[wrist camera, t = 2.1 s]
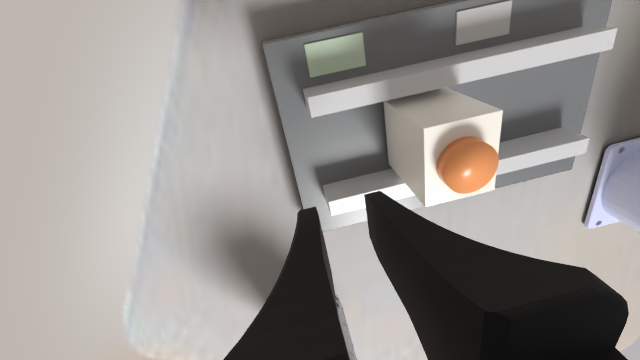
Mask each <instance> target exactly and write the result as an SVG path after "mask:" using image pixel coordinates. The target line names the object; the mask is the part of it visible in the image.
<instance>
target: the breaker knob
mask: <svg viewBox="0 0 640 360" xmlns="http://www.w3.org/2000/svg"><path fill="white" fill-rule="evenodd" d="M384 113H385V125H386V137H387V149H388V162H389V165H390V166H391V167H392V168H393V169H394V171H395V172H396V173H397V174H398V175H399V177H400V178H401V179H402V180H403V181H404V182H405V184H406V185H407V186H408V187H409V188H410V190H411V191H412V192H413V193H414V194H415V195H416V197H417V198H418V199H419V200H420V201H421V203H422V204H423V205H424V206H425V207H428V206H432V205H436V204H440V203H444V202H448V201H452V200H456V199H460V198H464V197H468V196H472V195H476V194H480V193H484V192H488V191H492V190H494V189H495V180H496V171H497V168H498V163H499V158H498V152H499V142H500V133H501V123H502V114H503V110H501V109H499V108H496V107H494V106H491V105H489V104H486V103H484V102H481V101H479V100H476V99H474V98H471V97H469V96H466V95H464V94H461V93H459V92H456V91H454V90H451V89H449V88H446V87H444V88H440V89H436V90H431V91H427V92H423V93H418V94H414V95H409V96H405V97H401V98H396V99H392V100H388V101H384Z"/></svg>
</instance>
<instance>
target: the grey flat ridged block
mask: <svg viewBox="0 0 640 360" xmlns="http://www.w3.org/2000/svg"><path fill="white" fill-rule="evenodd" d="M611 3H612V0H455V1H450V2H446V3H441V4H436V5H431V6H427V7H422V8H417V9H413V10H408V11H403V12H399V13H394V14H389V15H384V16H380V17H375V18H370V19H366V20H361V21H356V22H352V23H347V24H342V25H338V26H333V27H328V28H323V29H319V30H314V31H309V32H305V33H300V34H295V35H291V36H286V37H281V38H276V39H272V40H267V41H262V45H263V49H264V53H265V57H266V61H267V65H268V69H269V73H270V77H271V81H272V85H273V89H274V93H275V97H276V101H277V105H278V109H279V113H280V117H281V121H282V125H283V129H284V133H285V137H286V141H287V145H288V149H289V153H290V157H291V161H292V165H293V169H294V173H295V177H296V181H297V185H298V189H299V193H300V197H301V201H302V205H303V209H307V208H311V207H315V206H316V208H317V212H318V215H319V219H320V223H321V228H322V232H323V231H327V230H331V229H335V228H339V227H343V226H347V225H351V224H355V223H359V222H363V221H367V212H366V205H365V197H364V194H368V193H372V192H377V191H381V192H383V193H384V194H386V195H387V196H389V197H390V198H392V199H394V200H395V201H397V202H398V203H400V204H401V205H403V206H404V207H406V208H408V209H409V210H411V209H415V208H419V207H423V206H424V205H423V204H422V203H421V201H420V200H419V199H418V198H417V197H416V195H415V194H414V193H413V192H412V191H411V190H410V188H409V187H408V186H407V185H406V184H405V182H404V181H403V180H402V179H401V178H400V177H399V175H398V174H397V173H396V172H395V171H394V169H393V168H392V167H391V166H390V165H389V162H388V149H387V137H386V125H385V113H384V101H388V100H392V99H396V98H401V97H405V96H409V95H414V94H418V93H423V92H427V91H431V90H436V89H440V88H444V87H446V88H449V89H451V90H454V91H456V92H459V93H461V94H464V95H466V96H469V97H471V98H474V99H476V100H479V101H481V102H484V103H486V104H489V105H491V106H494V107H496V108H499V109H501V110H503V114H502V123H501V133H500V142H499V152H498V158H499V163H498V168H497V171H496V180H495V188H499V187H503V186H507V185H511V184H515V183H519V182H523V181H527V180H531V179H535V178H539V177H543V176H547V175H551V174H555V173H559V172H563V171H567V170H571V169H572V167H573V162H574V158H575V156H577V155H581V154H585V153H586V150H587V146H588V142H589V139H590V138H588V137H585V136H583V135H580V133H581V129H582V125H583V120H584V116H585V112H586V108H587V104H588V99H589V95H590V91H591V87H592V83H593V78H594V74H595V70H596V66H597V62H598V57H599V53H600V52H602V51H606V50H611V49H612V48H613V45H614V41H615V37H616V33H617V29H618V28H606V24H607V20H608V15H609V11H610V7H611Z"/></svg>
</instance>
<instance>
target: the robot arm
mask: <svg viewBox="0 0 640 360" xmlns="http://www.w3.org/2000/svg"><path fill="white" fill-rule="evenodd" d="M364 197H365V205H366V212H367V220H368V227H369V235H370V239H371V241H372V244H373V247H374V249H375V252H376V254H377V257H378V259H379V261H380V263H381V265H382V266H383V268H384V270H385V272H386V274H387V276H388V278H389V279H390V281H391V283H392V285H393V287H394V288H395V290H396V292H397V294H398V296H399V297H400V299H401V301H402V303H403V305H404V306H405V308H406V310H407V312H408V314H409V316H410V318H411V321H412V323H413V325H414V328H415V330H416V332H417V335H418V337H419V339H420V342H421V344H422V346H423V349H424V351H425V353H426V356H427V358H428V360H628V359H626V358H625V357H624V356H623V355H622V354H621V353H620V352H619V351H618V350H617V349H616V348H615V346H616V344H617V342H618V340H619V337H620V335H621V333H622V331H623V329H624V326H625V324H626V321H627V318H628V305H627V302H626V300H625V299H624V298H623V297H622V296H621V295H620V294H619V293H617V292H616V291H615V290H613V289H612V288H611V287H610V286H608V285H607V284H606V283H604V282H603V281H602V280H601V279H599V278H598V277H597V276H595V275H594V274H593V273H592V272H590V271H589V270H587V269H586V268H581V267H576V266H571V265H565V264H560V263H555V262H549V261H544V260H540V259H535V258H531V257H527V256H523V255H519V254H515V253H512V252H508V251H505V250H501V249H498V248H495V247H492V246H489V245H486V244H483V243H479V242H477V241H474V240H471V239H469V238H466V237H464V236H461V235H459V234H456V233H454V232H452V231H449V230H447V229H445V228H443V227H441V226H439V225H437V224H435V223H433V222H431V221H429V220H427V219H425V218H423V217H421V216H420V215H418V214H416V213H414V212H413V211H411V210H409V209H408V208H406V207H404V206H403V205H401V204H400V203H398V202H397V201H395V200H394V199H392V198H390V197H389V196H387V195H386V194H384V193H383V192H381V191H377V192H372V193H368V194H364ZM619 221H621V222H623V223H624V224H626V225H628V226H630V227H631V228H633V229H635V230H636V231H638V232H640V138H636V139H632V140H628V141H624V142H620V143H616V144H612V145H610V146H609V147H607V149H606V150H605V153H604V157H603V160H602V164H601V167H600V171H599V174H598V178H597V181H596V185H595V188H594V192H593V195H592V199H591V202H590V206H589V209H588V213H587V216H586V220H585V223H584V225H585V227H587V228H589V229H592V228H596V227H600V226H604V225H607V224H611V223H615V222H619ZM224 360H350V359H349V355H348V351H347V347H346V343H345V340H344V336H343V332H342V328H341V324H340V321H339V317H338V311H337V305H336V298H335V292H334V285H333V279H332V273H331V268H330V263H329V259H328V254H327V250H326V246H325V241H324V237H323V232H322V228H321V223H320V219H319V215H318V212H317V208H316V206H315V207H311V208H307V209H303V210H300V211H299V212H298V217H297V224H296V229H295V234H294V237H293V241H292V244H291V248H290V251H289V253H288V256H287V259H286V261H285V264H284V266H283V269H282V271H281V273H280V276H279V278H278V280H277V282H276V284H275V286H274V288H273V290H272V291H271V293H270V295H269V297H268V298H267V300H266V302H265V304H264V305H263V307H262V309H261V310H260V312H259V313H258V315H257V316H256V318H255V319H254V321H253V322H252V323H251V325H250V326H249V328H248V329H247V331H246V332H245V333H244V335H243V336H242V338H241V339H240V340H239V341H238V343H237V344H236V345H235V346H234V347H233V349H232V350H231V351H230V352H229V354H228V355H227V356H226V357H225V358H224Z"/></svg>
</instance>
